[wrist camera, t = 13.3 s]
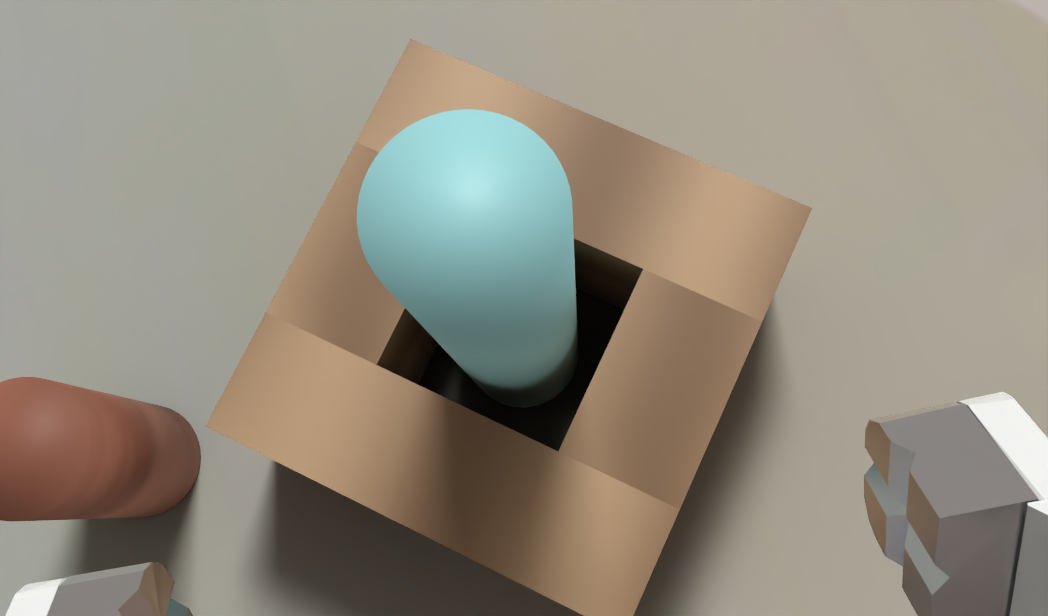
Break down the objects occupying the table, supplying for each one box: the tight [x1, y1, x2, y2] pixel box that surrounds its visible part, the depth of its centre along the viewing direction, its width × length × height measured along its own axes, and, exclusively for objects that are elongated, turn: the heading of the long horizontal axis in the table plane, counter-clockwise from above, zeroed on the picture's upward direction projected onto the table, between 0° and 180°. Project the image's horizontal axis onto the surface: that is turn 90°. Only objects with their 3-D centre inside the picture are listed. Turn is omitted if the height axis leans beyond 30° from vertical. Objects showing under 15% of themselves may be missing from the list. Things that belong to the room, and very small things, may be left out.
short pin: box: [0, 377, 201, 521], centre depth 23 cm, size 3×3×6 cm
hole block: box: [206, 39, 812, 616], centre depth 24 cm, size 10×10×5 cm
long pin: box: [357, 109, 578, 407], centre depth 20 cm, size 3×3×13 cm
